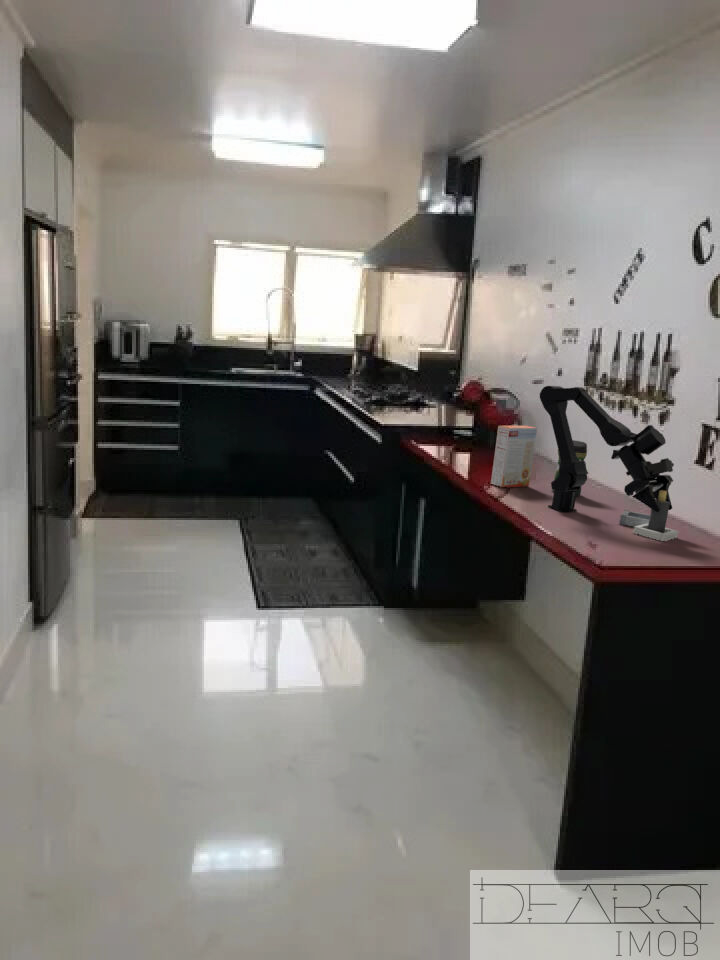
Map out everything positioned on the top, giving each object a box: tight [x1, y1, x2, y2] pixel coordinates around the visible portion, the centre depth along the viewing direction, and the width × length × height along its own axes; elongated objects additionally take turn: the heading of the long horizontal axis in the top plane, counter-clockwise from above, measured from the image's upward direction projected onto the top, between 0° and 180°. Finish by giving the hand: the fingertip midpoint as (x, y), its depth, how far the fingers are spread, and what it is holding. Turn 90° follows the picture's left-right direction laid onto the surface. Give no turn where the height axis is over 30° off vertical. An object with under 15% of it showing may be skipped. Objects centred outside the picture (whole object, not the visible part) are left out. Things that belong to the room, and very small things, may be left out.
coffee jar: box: [551, 439, 588, 497], centre depth 273 cm, size 10×8×19 cm
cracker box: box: [490, 425, 538, 488], centre depth 275 cm, size 14×6×21 cm, turn 127°
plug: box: [648, 490, 670, 533], centre depth 225 cm, size 5×5×13 cm
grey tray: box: [619, 509, 650, 528], centre depth 237 cm, size 12×9×3 cm
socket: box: [632, 523, 679, 542], centre depth 226 cm, size 9×9×2 cm
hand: (664, 510), depth 224 cm, fingers open, 7 cm apart
